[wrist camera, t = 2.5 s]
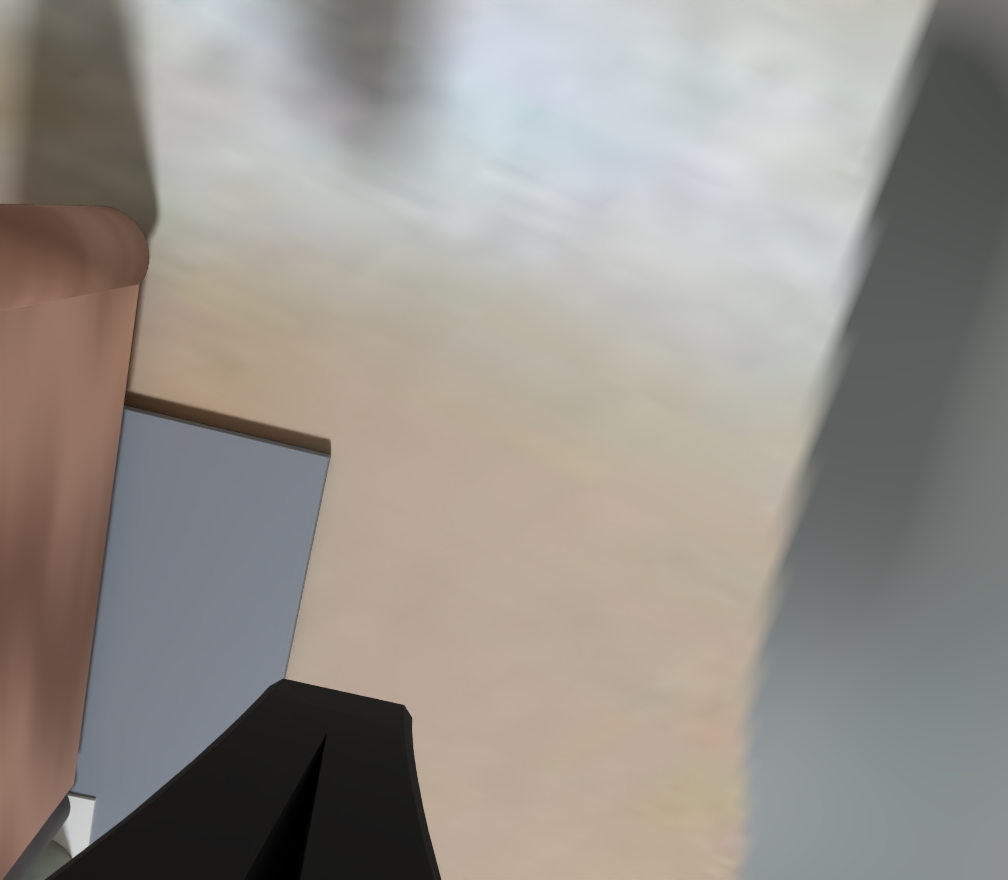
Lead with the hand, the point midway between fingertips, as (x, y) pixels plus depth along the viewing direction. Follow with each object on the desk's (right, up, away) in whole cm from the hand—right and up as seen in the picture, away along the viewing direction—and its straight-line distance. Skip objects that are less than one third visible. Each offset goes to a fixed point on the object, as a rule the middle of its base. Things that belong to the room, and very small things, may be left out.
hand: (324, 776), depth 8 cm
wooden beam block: (-6, +1, +6) cm, 8 cm away
